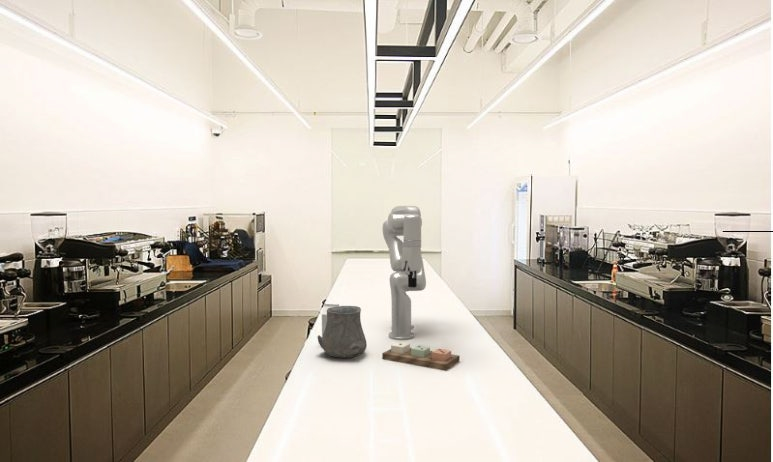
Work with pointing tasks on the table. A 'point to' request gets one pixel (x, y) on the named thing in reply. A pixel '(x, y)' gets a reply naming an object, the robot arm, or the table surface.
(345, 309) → the vessel
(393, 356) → the tray
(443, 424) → the table surface
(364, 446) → the table surface
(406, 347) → the tile one pip
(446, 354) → the tile three pip
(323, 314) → the milk carton
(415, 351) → the tile two pip
